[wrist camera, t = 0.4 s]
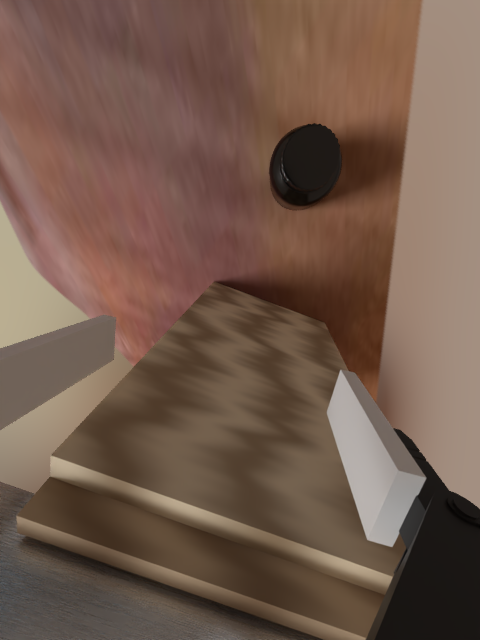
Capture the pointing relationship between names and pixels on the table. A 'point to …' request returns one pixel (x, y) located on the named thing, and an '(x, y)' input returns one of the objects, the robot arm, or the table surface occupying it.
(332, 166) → the supplement bottle
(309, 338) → the birch stand
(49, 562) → the bar
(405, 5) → the table surface
